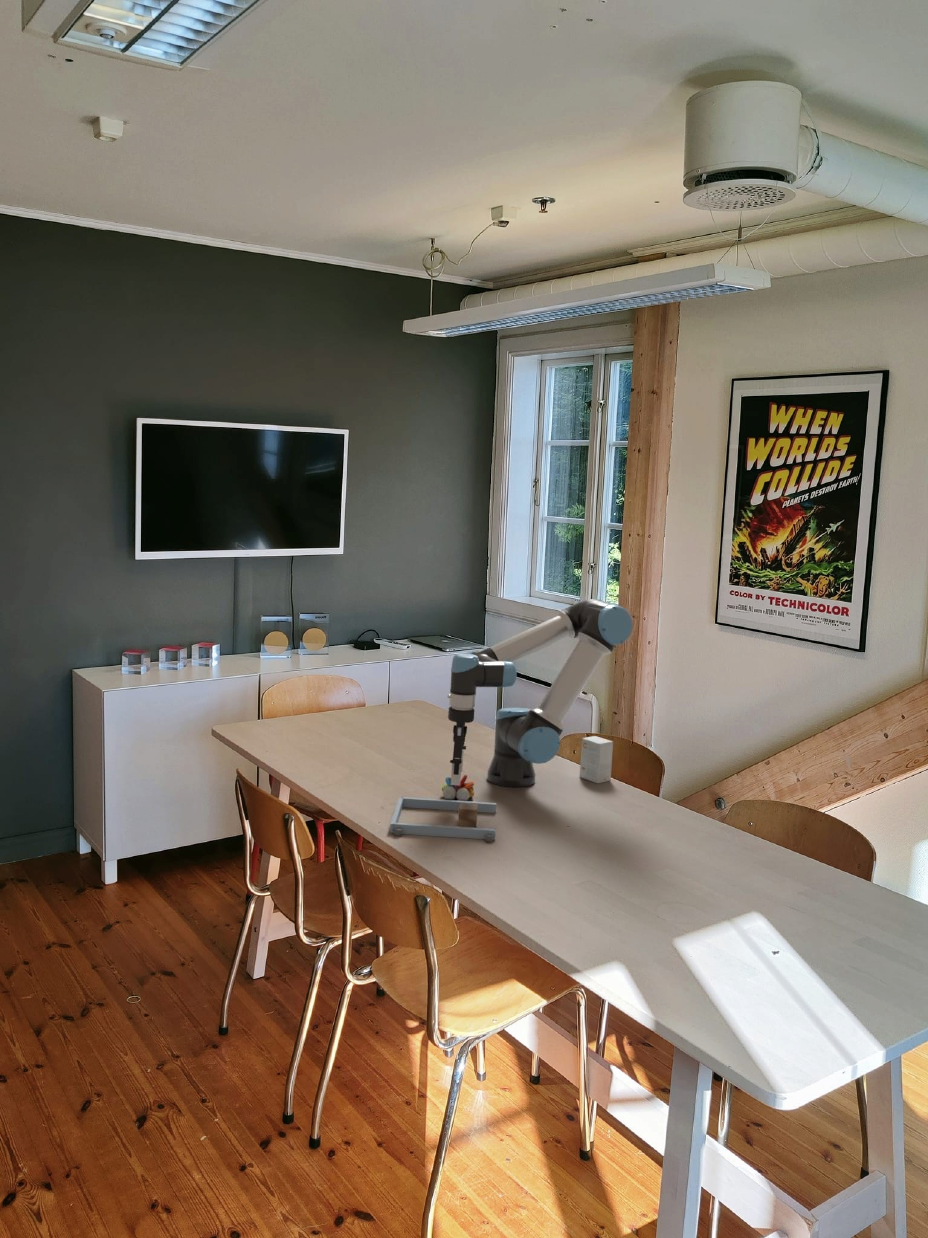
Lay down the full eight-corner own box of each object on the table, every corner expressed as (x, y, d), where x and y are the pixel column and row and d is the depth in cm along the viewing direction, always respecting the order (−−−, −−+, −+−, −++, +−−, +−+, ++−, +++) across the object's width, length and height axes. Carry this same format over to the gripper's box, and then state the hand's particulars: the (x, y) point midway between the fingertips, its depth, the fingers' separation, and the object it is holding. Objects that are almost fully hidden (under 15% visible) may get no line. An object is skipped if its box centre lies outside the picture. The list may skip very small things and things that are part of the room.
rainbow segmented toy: (470, 804, 294) (472, 780, 293) (438, 800, 296) (439, 776, 295) (476, 795, 302) (477, 772, 301) (445, 791, 304) (446, 768, 303)
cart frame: (496, 809, 290) (496, 800, 290) (494, 843, 264) (495, 833, 263) (399, 802, 291) (400, 794, 291) (388, 836, 265) (389, 826, 264)
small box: (610, 780, 323) (613, 741, 321) (597, 784, 319) (600, 744, 317) (592, 774, 329) (595, 735, 327) (578, 777, 325) (581, 737, 323)
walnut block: (476, 821, 280) (477, 804, 279) (476, 827, 275) (477, 810, 274) (458, 820, 280) (459, 803, 279) (457, 826, 275) (458, 808, 274)
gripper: (451, 697, 305) (446, 764, 308) (446, 716, 281) (441, 789, 284) (475, 699, 305) (470, 767, 308) (473, 718, 281) (467, 791, 284)
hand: (456, 778), depth 296 cm, fingers open, 13 cm apart
